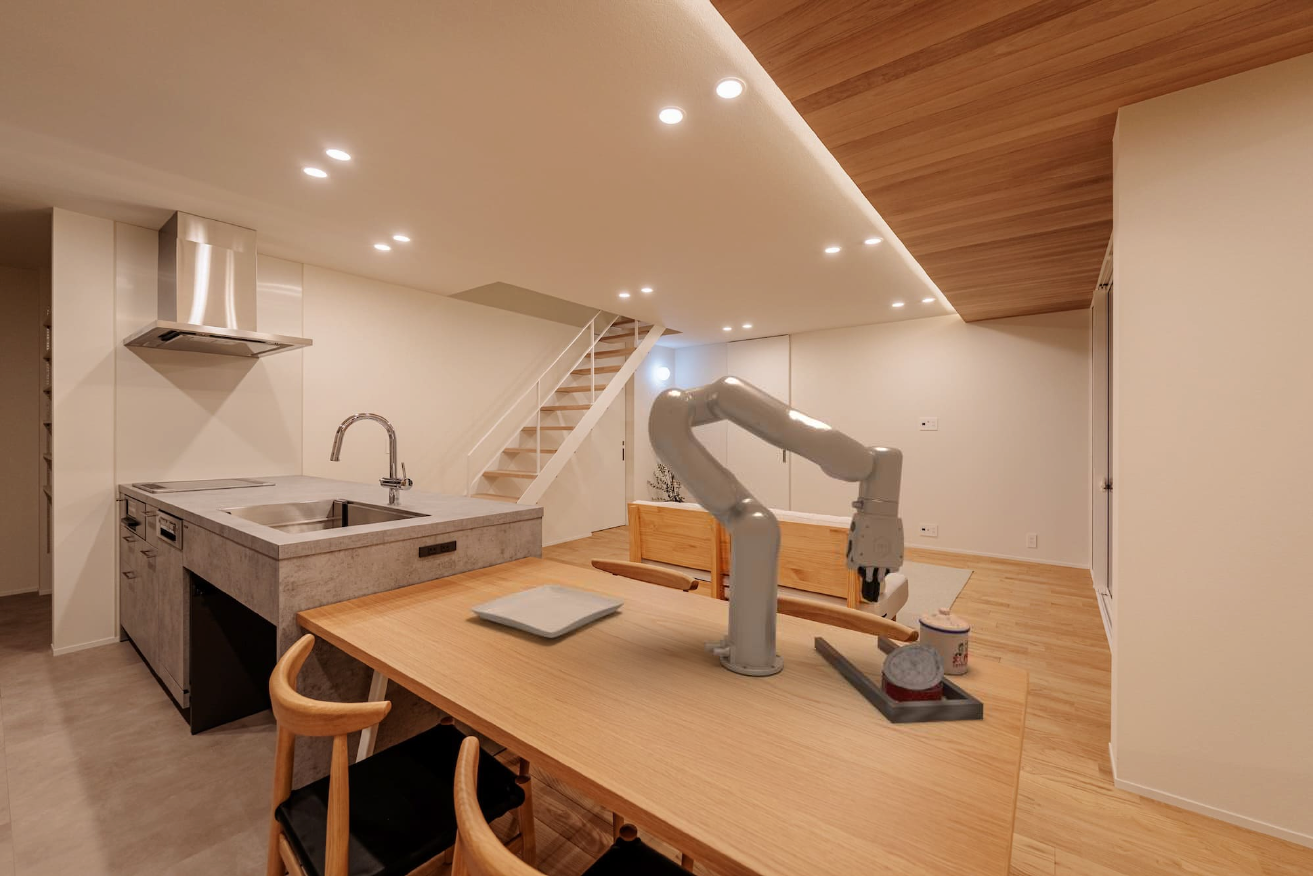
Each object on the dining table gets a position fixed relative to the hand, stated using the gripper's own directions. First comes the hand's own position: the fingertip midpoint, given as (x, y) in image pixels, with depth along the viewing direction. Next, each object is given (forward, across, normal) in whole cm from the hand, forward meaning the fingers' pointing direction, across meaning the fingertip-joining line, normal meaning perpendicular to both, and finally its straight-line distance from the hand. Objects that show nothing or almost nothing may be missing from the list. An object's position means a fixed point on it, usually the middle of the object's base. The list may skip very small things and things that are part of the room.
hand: (869, 599), depth 105 cm
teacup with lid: (+13, +18, +1) cm, 22 cm away
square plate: (+18, -64, +33) cm, 74 cm away
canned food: (+14, +3, -11) cm, 18 cm away
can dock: (+13, +2, -5) cm, 14 cm away
